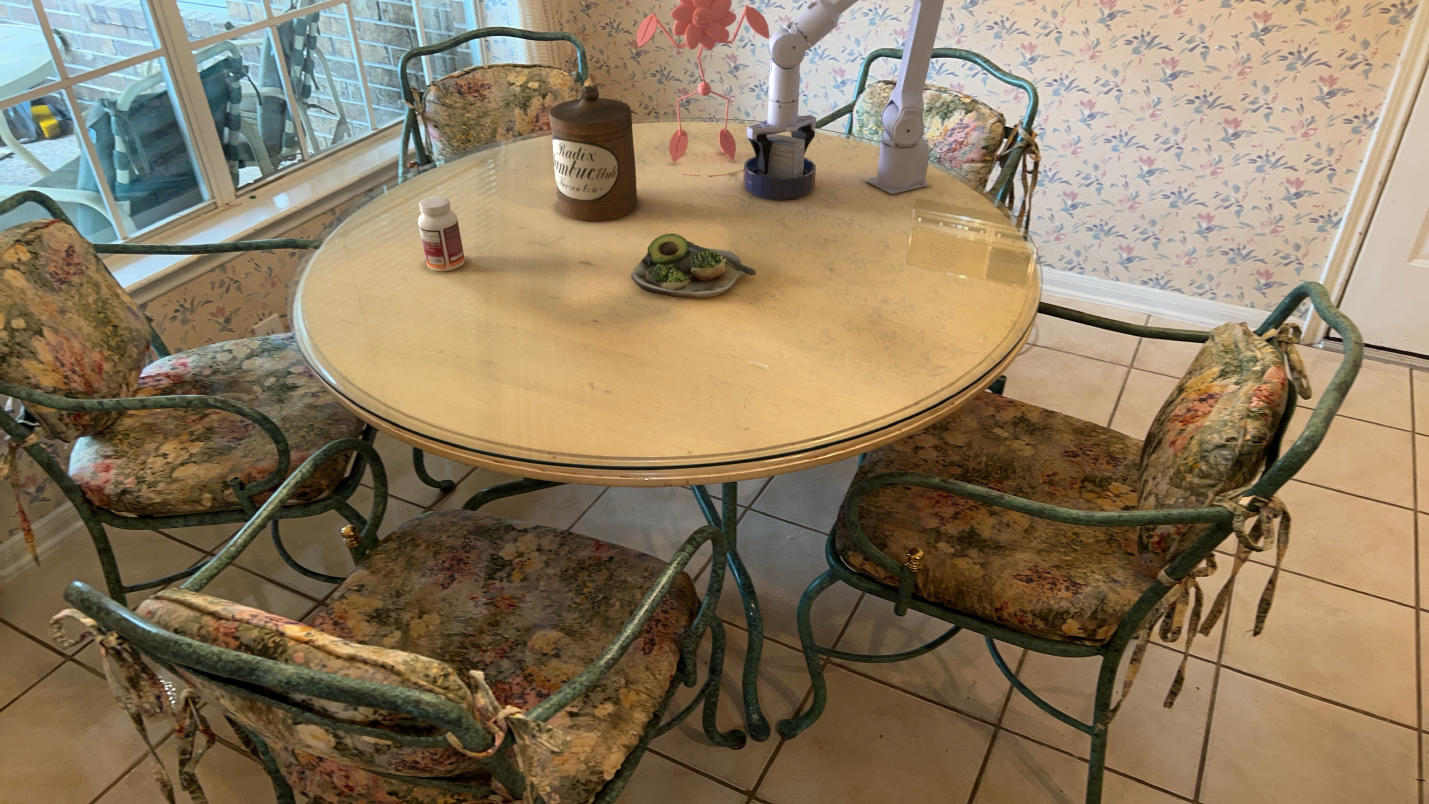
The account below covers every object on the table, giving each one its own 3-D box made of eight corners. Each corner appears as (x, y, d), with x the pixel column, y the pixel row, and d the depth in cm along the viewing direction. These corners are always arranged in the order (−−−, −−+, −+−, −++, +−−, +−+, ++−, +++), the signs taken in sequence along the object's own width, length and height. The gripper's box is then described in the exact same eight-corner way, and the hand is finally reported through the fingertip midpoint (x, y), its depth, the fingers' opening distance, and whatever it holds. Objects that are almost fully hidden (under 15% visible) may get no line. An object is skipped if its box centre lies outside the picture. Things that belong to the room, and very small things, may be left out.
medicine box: (803, 182, 178) (806, 138, 173) (793, 189, 175) (796, 145, 170) (767, 174, 181) (769, 132, 176) (757, 182, 178) (758, 138, 173)
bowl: (788, 170, 186) (789, 148, 184) (828, 193, 176) (830, 171, 174) (730, 182, 180) (730, 160, 178) (768, 207, 171) (769, 184, 168)
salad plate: (768, 261, 152) (769, 235, 149) (739, 310, 138) (740, 283, 135) (660, 245, 157) (660, 220, 154) (621, 292, 143) (620, 265, 140)
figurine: (641, 153, 194) (634, -24, 174) (760, 151, 195) (767, -25, 175) (641, 180, 181) (634, -8, 161) (769, 177, 183) (777, -9, 163)
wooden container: (543, 214, 167) (530, 94, 154) (582, 186, 178) (573, 72, 165) (614, 227, 162) (607, 104, 150) (650, 198, 174) (646, 81, 161)
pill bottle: (460, 253, 153) (450, 191, 147) (469, 268, 149) (458, 205, 143) (423, 260, 151) (411, 197, 145) (430, 275, 147) (418, 212, 140)
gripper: (762, 110, 163) (759, 182, 170) (827, 98, 169) (822, 168, 176) (741, 99, 168) (740, 170, 175) (806, 89, 174) (801, 157, 181)
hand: (779, 168), depth 176 cm, fingers closed on medicine box, 7 cm apart
